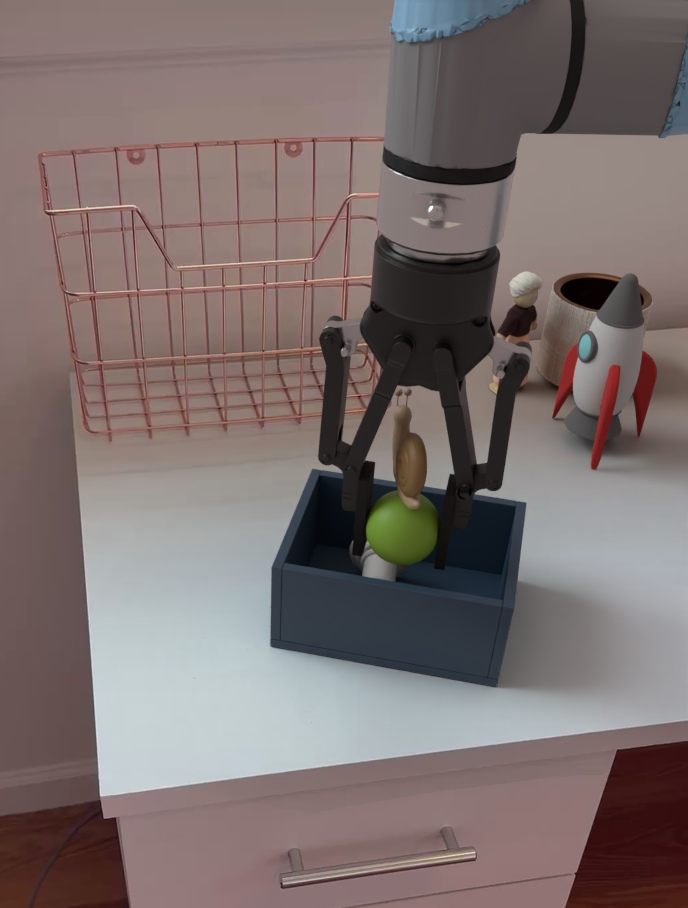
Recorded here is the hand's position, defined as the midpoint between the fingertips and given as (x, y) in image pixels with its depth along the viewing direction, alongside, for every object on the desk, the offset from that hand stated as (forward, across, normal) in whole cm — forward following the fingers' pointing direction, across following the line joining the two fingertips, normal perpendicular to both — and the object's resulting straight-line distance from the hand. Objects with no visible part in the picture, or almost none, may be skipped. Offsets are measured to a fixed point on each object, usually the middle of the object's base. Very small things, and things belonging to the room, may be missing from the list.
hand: (400, 551), depth 76 cm
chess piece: (+4, -2, +6) cm, 8 cm away
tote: (+8, 0, +2) cm, 8 cm away
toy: (+8, +16, +34) cm, 39 cm away
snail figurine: (+1, 0, 0) cm, 1 cm away
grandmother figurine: (+8, +6, +44) cm, 45 cm away
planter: (+8, +14, +48) cm, 51 cm away
